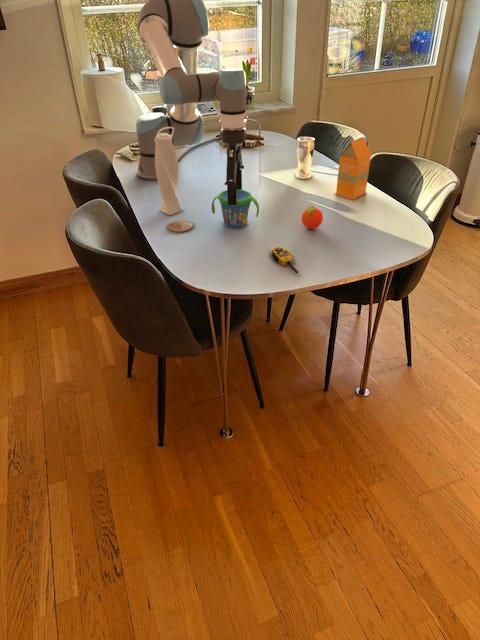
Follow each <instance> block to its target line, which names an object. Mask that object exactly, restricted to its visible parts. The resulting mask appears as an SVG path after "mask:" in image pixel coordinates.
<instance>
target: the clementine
mask: <svg viewBox="0 0 480 640" xmlns="http://www.w3.org/2000/svg"><path fill="white" fill-rule="evenodd" d="M300 218H301V219H300V220H301V223H302V225H303V226H304V227H305V228H307V229H311V230H314V229H317V228H319V227H320V226H321V225H322V223H323V221H324V215H323V212H322V211H321V209H319V208H318V207H316V206H309V207H307V208H306V209H304V210H303V211H302V214H301V217H300Z"/></svg>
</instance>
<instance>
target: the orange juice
mask: <svg viewBox="0 0 480 640" xmlns="http://www.w3.org/2000/svg"><path fill="white" fill-rule="evenodd" d="M371 157H372V154H371V151H370V149H369V146H368V144H367V141H366V139H365V136H363V137H359V138H357V139H355V140H352V141H351V142H350V143H349V144H348V145H347V146H346V148H345V149H344V150H343V152H342V153H340V155H339V164H338V171H337V181H336V191H335V195H336V196H340V197H343V198H346V199H350V200H355V199H357V198H359V197H361V196H363V195H364V194H366V192H367V186H368V185H367V184H368V178H369V173H370V165H371V159H372V158H371Z"/></svg>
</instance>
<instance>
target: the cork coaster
mask: <svg viewBox="0 0 480 640" xmlns="http://www.w3.org/2000/svg"><path fill="white" fill-rule="evenodd" d="M167 228H168V230H169V231H170V232H173V233H185V232H188V231H190V230H192V229H193V224H192V222H190V221H187V220H177V221H173V222H170V223H169V224H168V225H167Z"/></svg>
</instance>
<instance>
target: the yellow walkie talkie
mask: <svg viewBox="0 0 480 640" xmlns="http://www.w3.org/2000/svg"><path fill="white" fill-rule="evenodd" d="M271 255H272V258H273V259H274V260H275V262H277V263H279V264H280V265H282V266H289V267H290V268H291V269H292V270H293V272H295V273H296V274H298V273H299V271H298V270H297V269H296V268H295V267H294V266H293V262H294V261H293V260H294V259H293V255H292V253H291V252H290V251H288V250H287V249H286V248H283V247H281V246H275V247H272V248H271Z"/></svg>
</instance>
